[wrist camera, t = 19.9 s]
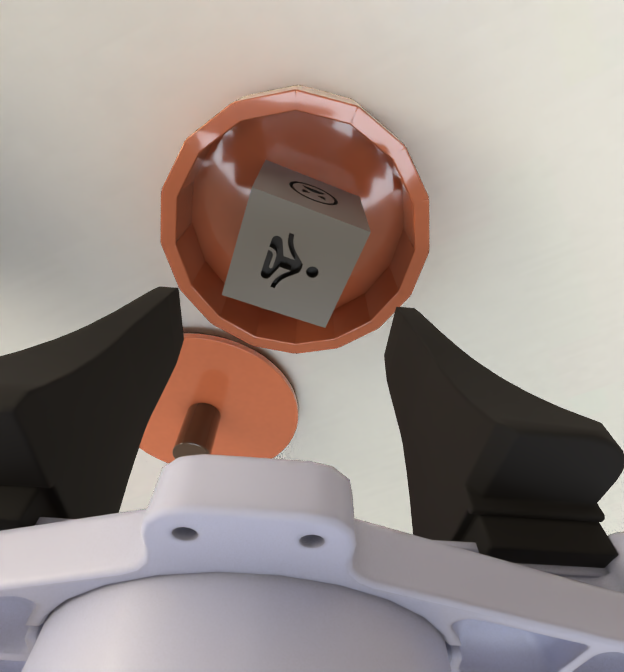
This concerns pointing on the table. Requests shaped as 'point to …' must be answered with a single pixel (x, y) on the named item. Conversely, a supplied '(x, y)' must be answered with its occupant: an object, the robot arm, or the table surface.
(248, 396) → the lid
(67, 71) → the table surface
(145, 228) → the table surface
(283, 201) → the dice cube
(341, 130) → the basin
